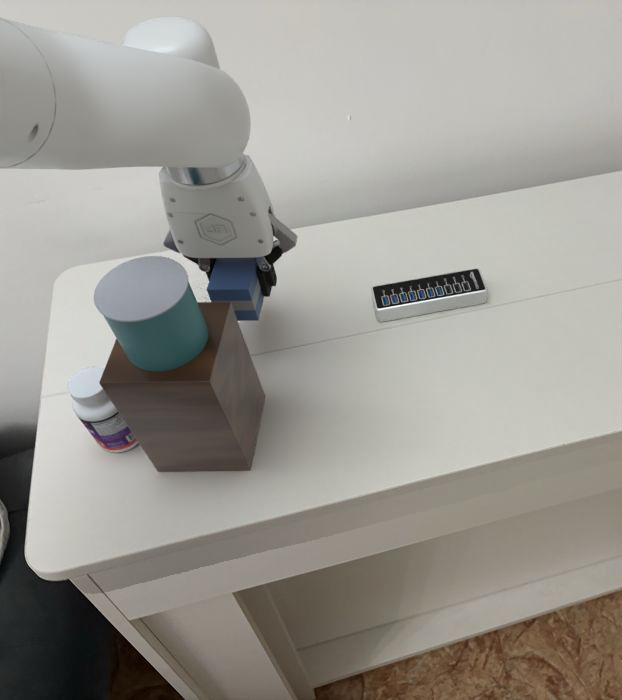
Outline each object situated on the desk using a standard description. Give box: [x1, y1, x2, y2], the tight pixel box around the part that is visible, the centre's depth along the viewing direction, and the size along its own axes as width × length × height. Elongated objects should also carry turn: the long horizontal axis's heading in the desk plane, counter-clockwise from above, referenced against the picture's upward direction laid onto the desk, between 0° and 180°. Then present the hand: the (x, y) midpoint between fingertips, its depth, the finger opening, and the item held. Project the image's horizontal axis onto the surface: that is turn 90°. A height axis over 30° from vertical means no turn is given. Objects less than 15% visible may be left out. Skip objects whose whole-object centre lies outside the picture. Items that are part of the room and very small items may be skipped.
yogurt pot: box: [93, 255, 209, 372], centre depth 65 cm, size 8×8×7 cm
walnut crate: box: [99, 301, 266, 473], centre depth 74 cm, size 10×10×16 cm
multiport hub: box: [370, 267, 488, 323], centre depth 92 cm, size 4×14×2 cm, turn 104°
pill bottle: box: [67, 366, 139, 453], centre depth 76 cm, size 5×5×10 cm
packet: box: [206, 257, 265, 322], centre depth 81 cm, size 10×4×5 cm, turn 1°
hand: (246, 287), depth 83 cm, fingers closed on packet, 4 cm apart
